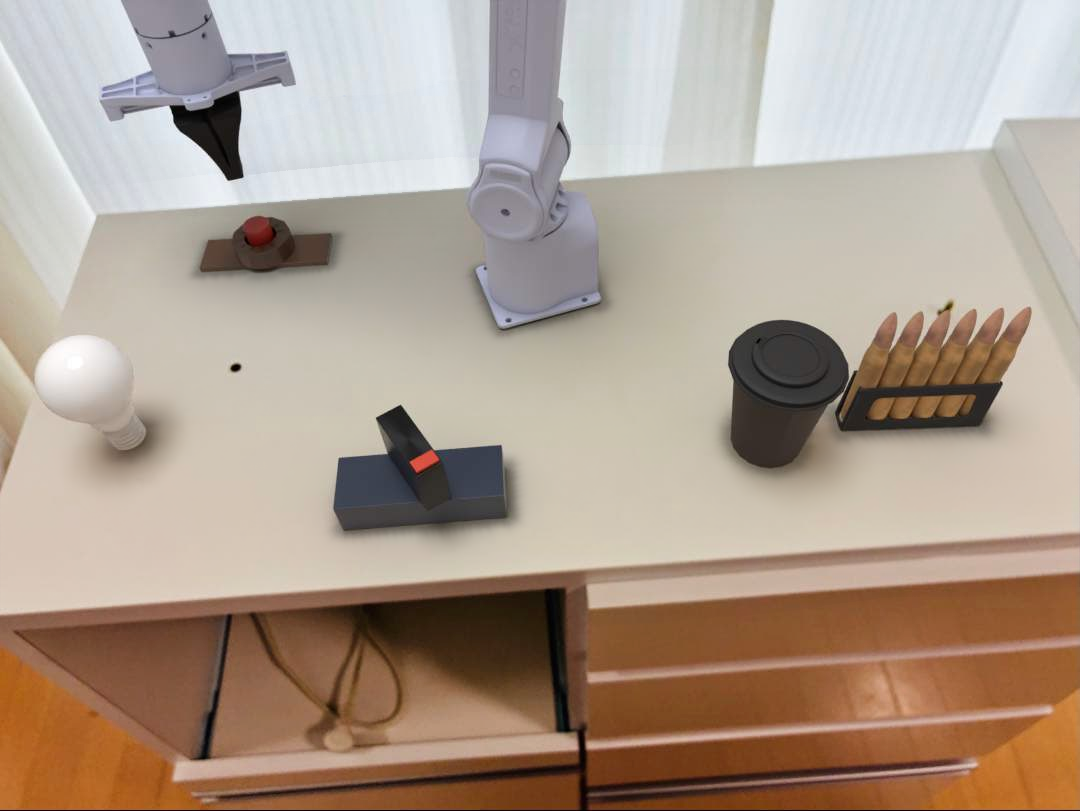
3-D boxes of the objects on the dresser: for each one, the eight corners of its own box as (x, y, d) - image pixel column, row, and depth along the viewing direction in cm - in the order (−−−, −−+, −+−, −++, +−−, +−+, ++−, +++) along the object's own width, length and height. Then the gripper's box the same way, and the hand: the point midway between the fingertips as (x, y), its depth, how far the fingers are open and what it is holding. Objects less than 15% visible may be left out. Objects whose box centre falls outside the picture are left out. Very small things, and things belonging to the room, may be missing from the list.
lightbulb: (149, 480, 63) (80, 390, 55) (76, 468, 64) (-4, 378, 56) (186, 415, 67) (127, 322, 59) (117, 405, 68) (48, 311, 60)
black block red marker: (387, 454, 60) (374, 415, 57) (411, 441, 61) (400, 401, 57) (427, 512, 57) (416, 475, 53) (452, 498, 58) (442, 460, 54)
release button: (276, 229, 78) (270, 214, 77) (272, 246, 77) (266, 231, 75) (251, 230, 78) (245, 216, 77) (246, 247, 77) (240, 233, 75)
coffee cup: (707, 397, 66) (724, 310, 58) (810, 397, 66) (841, 309, 58) (717, 483, 61) (737, 400, 53) (829, 484, 61) (865, 400, 53)
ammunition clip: (839, 431, 63) (884, 323, 54) (834, 412, 65) (876, 303, 55) (980, 426, 63) (1049, 316, 54) (972, 406, 64) (1038, 296, 55)
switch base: (504, 467, 63) (501, 444, 60) (507, 517, 60) (504, 495, 58) (347, 479, 63) (338, 457, 60) (343, 530, 60) (332, 509, 58)
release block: (333, 233, 80) (327, 213, 79) (326, 270, 77) (320, 251, 75) (211, 239, 81) (202, 220, 79) (199, 277, 77) (190, 258, 75)
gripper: (67, 65, 57) (149, 219, 68) (276, 26, 59) (324, 181, 70) (72, 18, 62) (149, 170, 72) (267, -18, 64) (313, 135, 74)
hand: (235, 173), depth 71 cm, fingers closed
